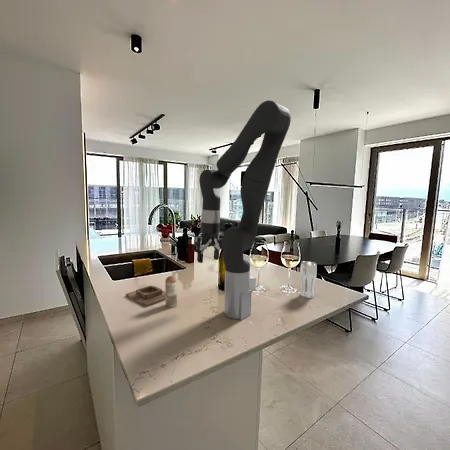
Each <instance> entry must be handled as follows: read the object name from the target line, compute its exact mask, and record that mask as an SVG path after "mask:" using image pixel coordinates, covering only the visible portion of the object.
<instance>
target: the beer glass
mask: <svg viewBox="0 0 450 450" xmlns="http://www.w3.org/2000/svg"><path fill="white" fill-rule="evenodd" d="M317 265H318V264H317V263H316V262H315V261H307V260H304V261H301V262H300V270H299V275H300V285H301V286H300V293H299V296H300V297H302V298H304V299H313V298H314V297H315V293H314V289H315V284H316V279H317V273H318V272H317V271H318V269H317Z"/></svg>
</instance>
